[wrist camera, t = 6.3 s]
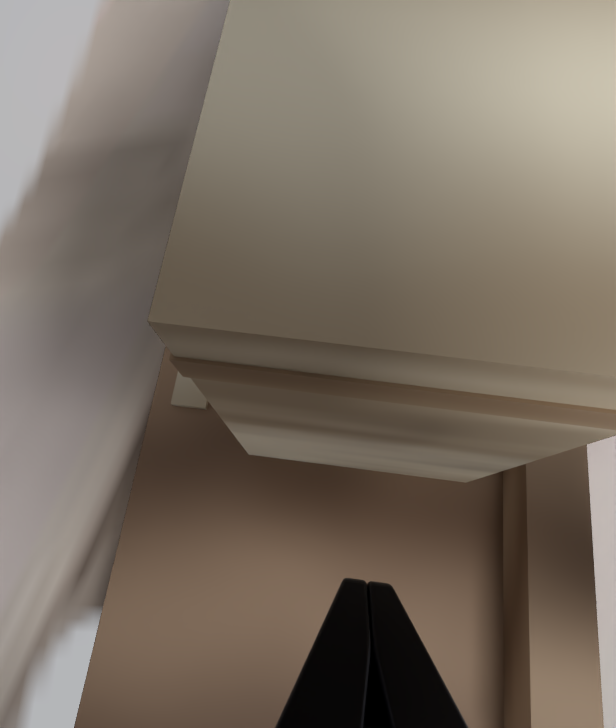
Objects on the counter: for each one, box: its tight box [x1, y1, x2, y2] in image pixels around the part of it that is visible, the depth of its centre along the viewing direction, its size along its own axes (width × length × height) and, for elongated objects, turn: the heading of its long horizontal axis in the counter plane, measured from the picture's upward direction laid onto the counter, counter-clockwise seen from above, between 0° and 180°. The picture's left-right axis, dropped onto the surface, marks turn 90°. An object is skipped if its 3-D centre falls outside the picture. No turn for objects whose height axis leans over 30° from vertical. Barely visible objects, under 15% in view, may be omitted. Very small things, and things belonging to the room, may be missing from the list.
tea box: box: [147, 0, 616, 483], centre depth 11 cm, size 13×6×9 cm, turn 173°
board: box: [74, 347, 604, 728], centre depth 14 cm, size 26×12×5 cm, turn 173°
